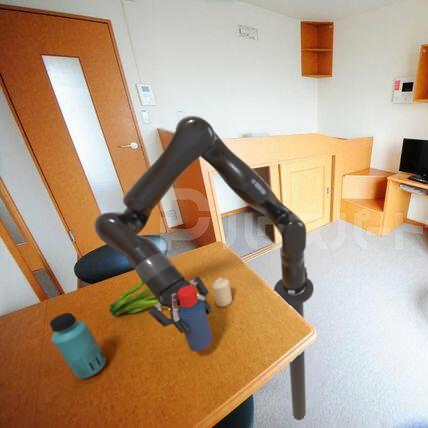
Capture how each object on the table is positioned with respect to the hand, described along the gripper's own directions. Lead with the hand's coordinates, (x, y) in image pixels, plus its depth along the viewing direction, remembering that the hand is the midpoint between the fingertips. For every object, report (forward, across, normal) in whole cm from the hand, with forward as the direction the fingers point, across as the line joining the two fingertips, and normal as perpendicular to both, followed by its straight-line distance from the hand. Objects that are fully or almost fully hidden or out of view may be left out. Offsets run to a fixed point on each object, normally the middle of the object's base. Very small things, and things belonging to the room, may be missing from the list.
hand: (198, 321), depth 64 cm
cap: (-6, 0, -3) cm, 7 cm away
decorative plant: (-12, +9, +33) cm, 36 cm away
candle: (+2, +18, +18) cm, 26 cm away
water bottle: (+5, 0, +7) cm, 9 cm away
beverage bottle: (-7, -17, +28) cm, 33 cm away
